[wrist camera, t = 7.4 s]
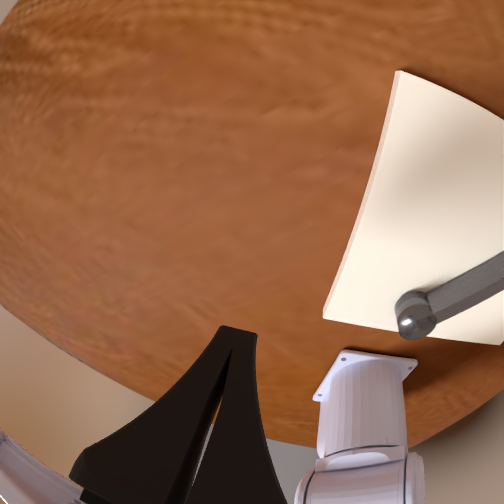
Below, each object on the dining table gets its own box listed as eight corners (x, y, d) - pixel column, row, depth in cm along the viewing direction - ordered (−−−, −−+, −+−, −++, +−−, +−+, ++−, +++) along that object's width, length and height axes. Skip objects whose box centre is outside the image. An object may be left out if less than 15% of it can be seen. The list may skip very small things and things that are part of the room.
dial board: (496, 337, 20) (500, 346, 19) (323, 308, 22) (322, 319, 21) (582, 183, 10) (590, 189, 9) (395, 70, 12) (401, 70, 11)
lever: (400, 324, 19) (404, 344, 18) (389, 301, 18) (393, 322, 17) (550, 243, 13) (563, 258, 11) (549, 213, 12) (563, 228, 10)
